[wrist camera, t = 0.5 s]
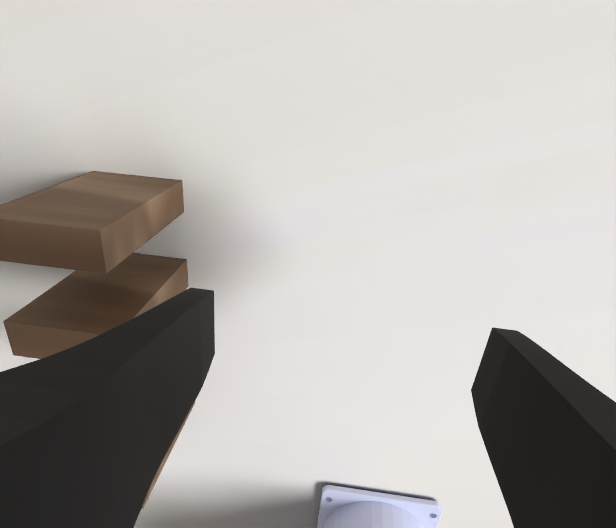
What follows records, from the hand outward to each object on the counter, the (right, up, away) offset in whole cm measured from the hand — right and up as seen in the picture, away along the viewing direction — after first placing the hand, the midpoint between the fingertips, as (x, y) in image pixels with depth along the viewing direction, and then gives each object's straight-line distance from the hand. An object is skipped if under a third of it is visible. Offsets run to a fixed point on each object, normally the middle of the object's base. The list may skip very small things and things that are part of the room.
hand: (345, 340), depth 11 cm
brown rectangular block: (-10, +2, +11) cm, 15 cm away
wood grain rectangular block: (-9, +6, +10) cm, 15 cm away
